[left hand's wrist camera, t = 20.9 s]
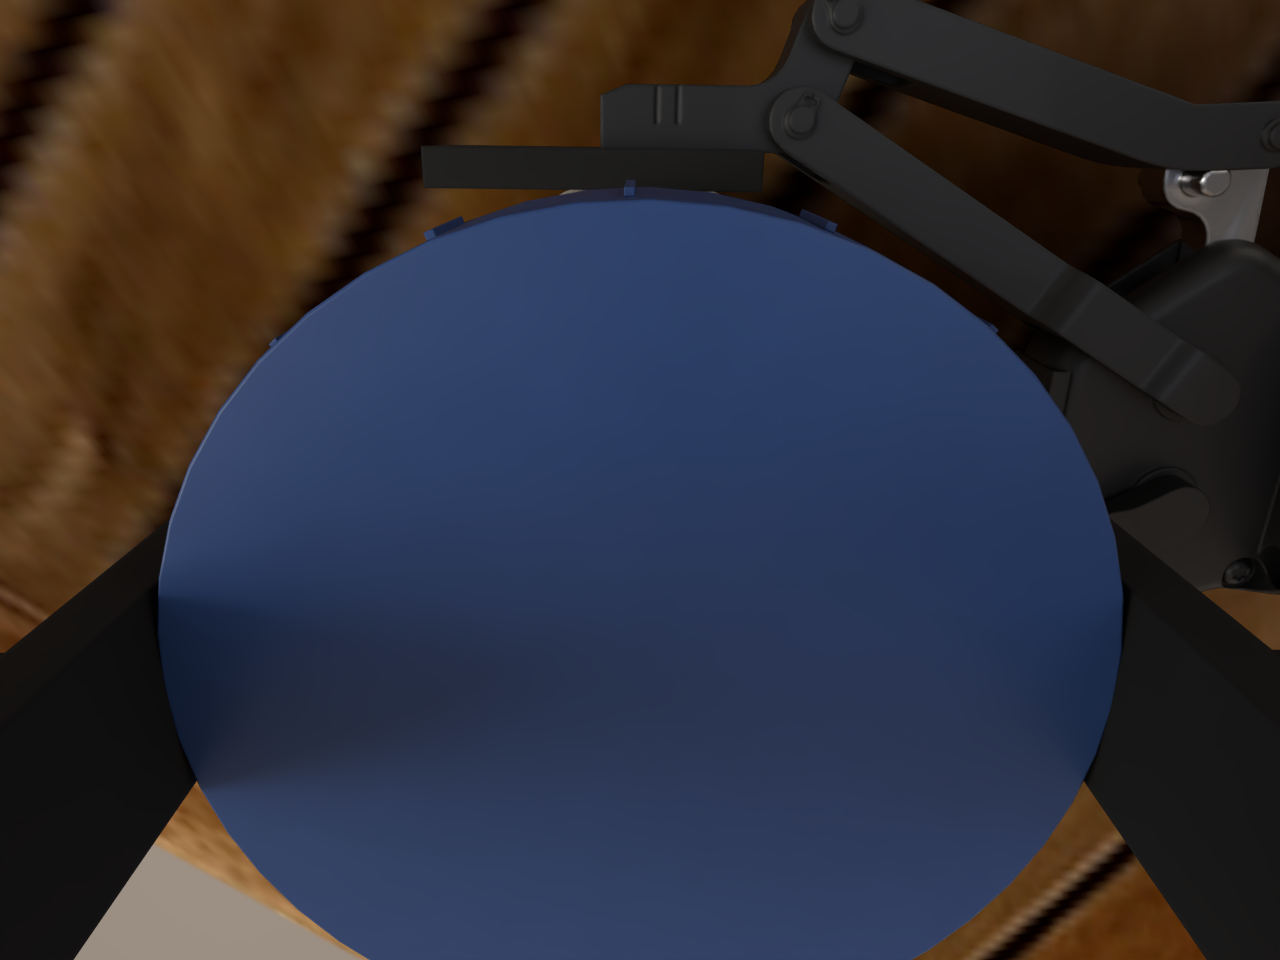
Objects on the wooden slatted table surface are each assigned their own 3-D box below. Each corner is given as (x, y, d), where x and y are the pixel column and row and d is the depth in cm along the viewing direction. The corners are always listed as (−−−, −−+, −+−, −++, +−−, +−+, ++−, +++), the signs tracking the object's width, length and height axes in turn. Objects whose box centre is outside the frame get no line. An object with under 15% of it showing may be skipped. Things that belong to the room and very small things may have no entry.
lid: (1075, 126, 10) (1184, 123, 8) (1029, 878, 14) (1095, 1002, 12) (125, 238, 10) (3, 262, 8) (343, 936, 14) (295, 1066, 12)
